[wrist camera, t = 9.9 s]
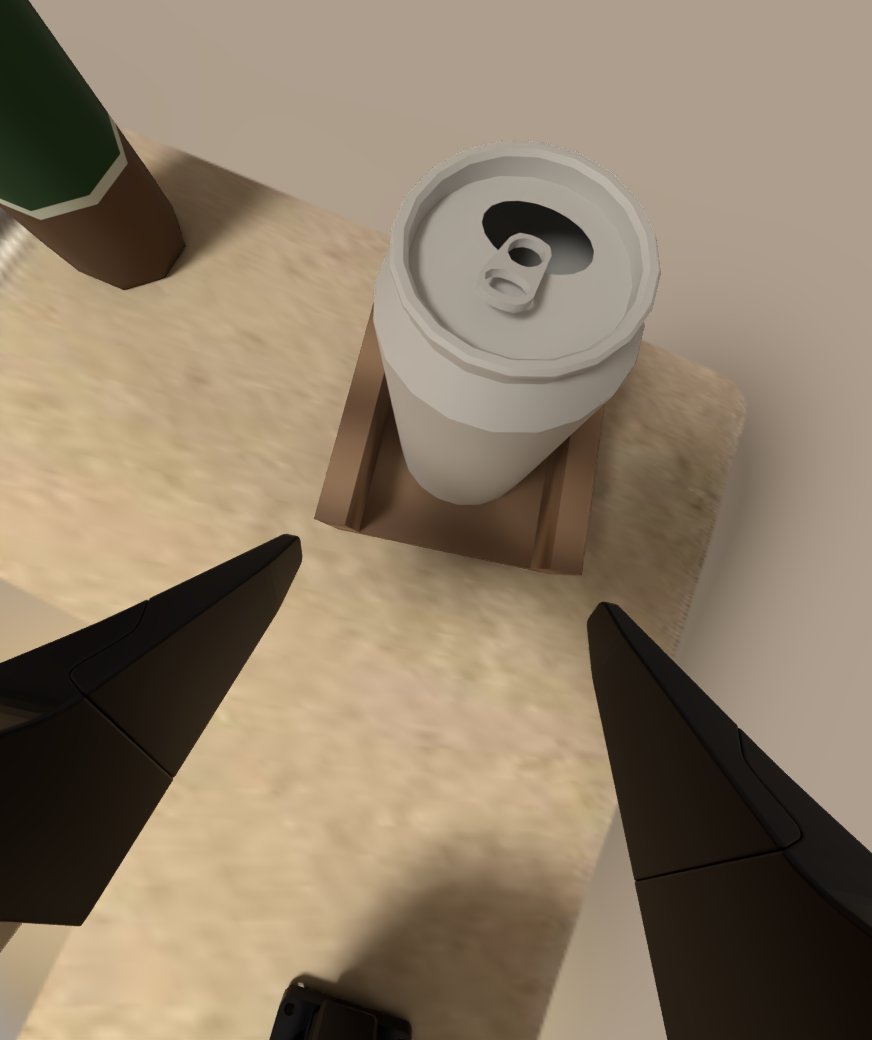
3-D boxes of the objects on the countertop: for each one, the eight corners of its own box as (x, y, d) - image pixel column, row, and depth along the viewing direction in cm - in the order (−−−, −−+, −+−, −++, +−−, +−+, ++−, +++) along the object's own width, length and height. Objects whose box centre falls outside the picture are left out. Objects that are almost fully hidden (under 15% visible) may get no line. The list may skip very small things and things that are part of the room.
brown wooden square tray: (549, 573, 19) (581, 575, 15) (338, 529, 19) (313, 518, 15) (578, 379, 21) (613, 335, 17) (387, 340, 21) (377, 287, 17)
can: (546, 422, 19) (743, 183, 7) (494, 530, 18) (624, 460, 6) (438, 370, 19) (453, 60, 8) (380, 473, 18) (292, 300, 6)
